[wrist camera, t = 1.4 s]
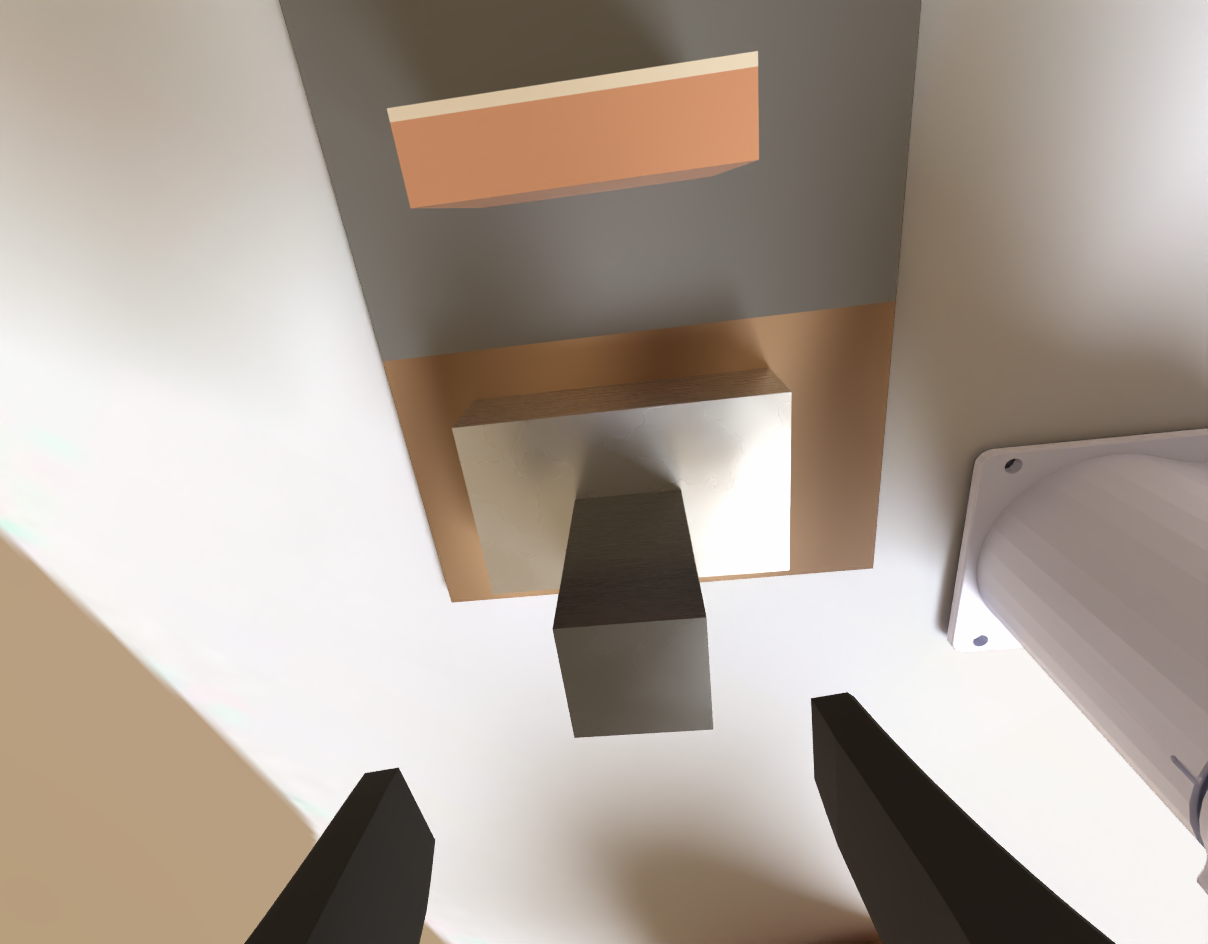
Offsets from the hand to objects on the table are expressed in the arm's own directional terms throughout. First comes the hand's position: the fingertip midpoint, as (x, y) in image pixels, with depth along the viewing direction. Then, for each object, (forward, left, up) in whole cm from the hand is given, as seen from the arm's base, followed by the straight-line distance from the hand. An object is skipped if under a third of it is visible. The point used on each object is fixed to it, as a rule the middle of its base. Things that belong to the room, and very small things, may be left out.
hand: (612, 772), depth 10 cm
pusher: (0, -1, -10) cm, 10 cm away
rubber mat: (-1, -12, -11) cm, 16 cm away
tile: (0, -10, -10) cm, 14 cm away
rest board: (-1, -1, -11) cm, 11 cm away
